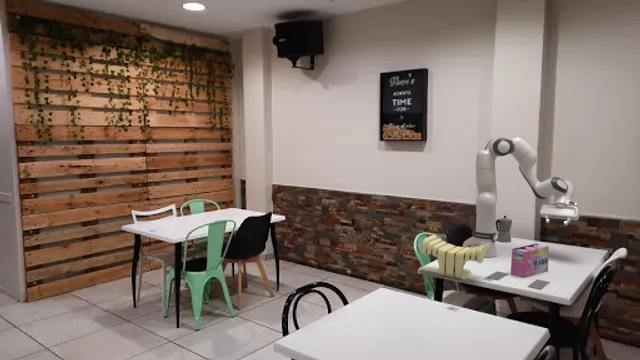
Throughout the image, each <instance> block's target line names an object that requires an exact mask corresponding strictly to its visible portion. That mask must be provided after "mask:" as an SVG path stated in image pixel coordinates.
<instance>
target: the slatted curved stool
mask: <svg viewBox="0 0 640 360" xmlns="http://www.w3.org/2000/svg"><path fill="white" fill-rule="evenodd" d="M489 248H490V243H488V244H486V245H481V246H477V247H474V248H473V247H466V248H464V247H463V246H458V245H457V246H456V245H454V244H451V243H448V242H446V241H444V240H443V239H441V238H439V237H438V236H437V235H435V234H432V235H430V236H427V237H425V238H424V239H423V240H422V244H421V254H427V255H432V256H434V257H435V258H437V259H436V260H437V263H438V267H439V270H438V275H440V276H446V277H449V278H450V277H451V278H455V279H460V280H465V279H467V278H468V277H469V276H471V275H472V274H473V272H472V270H471V269H469V268H464V267H465V265H466V263H467V262H470V261H471V262H476V263H478V264H482V263H484V258H485V257H484V255H485V253H486V251H487V250H488V249H489Z"/></svg>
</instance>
